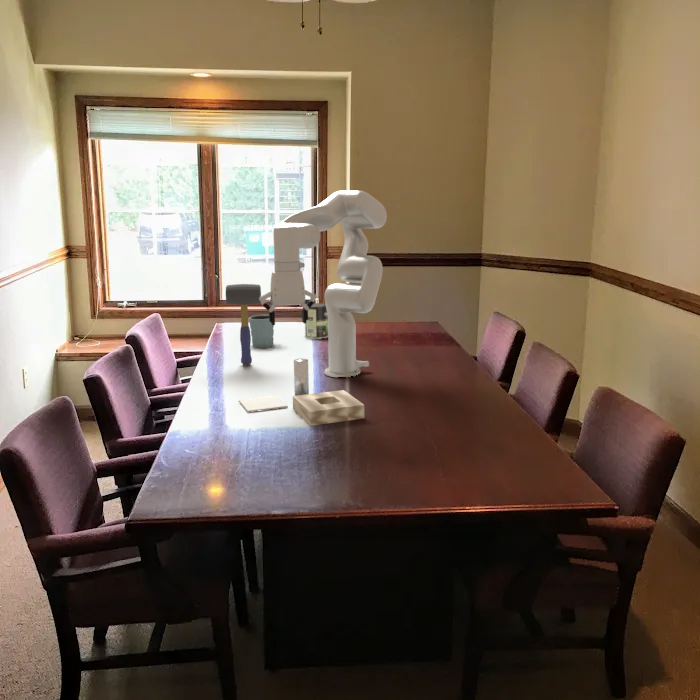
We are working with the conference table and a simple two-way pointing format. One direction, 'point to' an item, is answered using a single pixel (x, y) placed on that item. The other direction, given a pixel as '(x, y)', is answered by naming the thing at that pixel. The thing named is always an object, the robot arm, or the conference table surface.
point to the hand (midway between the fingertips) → (288, 323)
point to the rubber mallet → (244, 313)
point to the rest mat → (262, 403)
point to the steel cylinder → (301, 377)
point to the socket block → (328, 407)
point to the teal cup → (261, 331)
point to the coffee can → (317, 322)
